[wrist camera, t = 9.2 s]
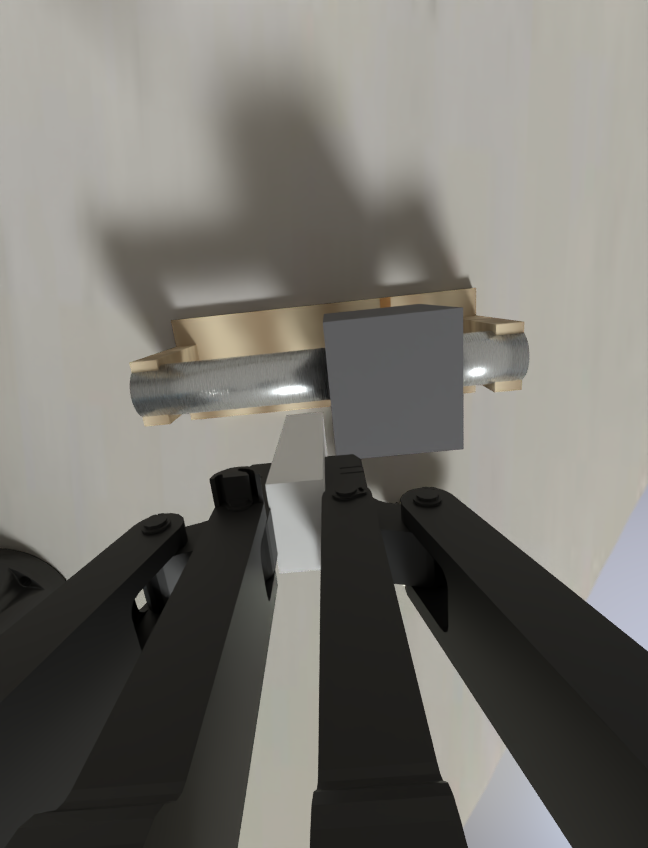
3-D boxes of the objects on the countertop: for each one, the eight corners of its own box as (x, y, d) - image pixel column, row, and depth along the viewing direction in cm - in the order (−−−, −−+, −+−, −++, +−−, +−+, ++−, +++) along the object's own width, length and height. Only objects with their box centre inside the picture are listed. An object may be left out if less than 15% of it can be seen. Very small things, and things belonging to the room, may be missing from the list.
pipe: (158, 410, 35) (137, 424, 31) (147, 363, 34) (124, 371, 30) (505, 375, 34) (527, 386, 30) (506, 325, 32) (530, 330, 29)
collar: (333, 411, 37) (336, 460, 26) (324, 313, 34) (322, 322, 24) (422, 403, 37) (463, 448, 26) (419, 303, 34) (463, 307, 23)
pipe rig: (194, 417, 43) (152, 456, 33) (174, 320, 40) (120, 328, 30) (471, 390, 42) (520, 421, 32) (472, 288, 39) (525, 285, 29)
